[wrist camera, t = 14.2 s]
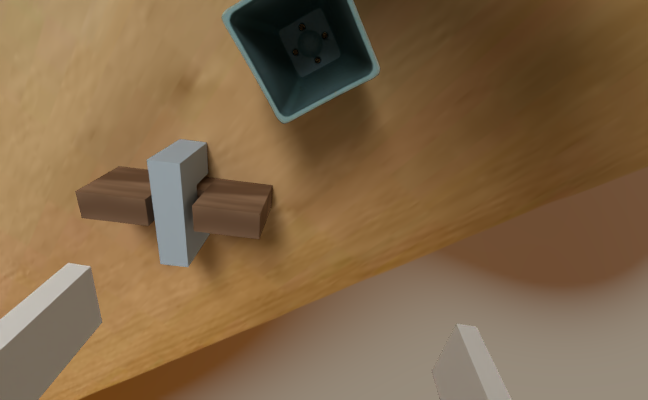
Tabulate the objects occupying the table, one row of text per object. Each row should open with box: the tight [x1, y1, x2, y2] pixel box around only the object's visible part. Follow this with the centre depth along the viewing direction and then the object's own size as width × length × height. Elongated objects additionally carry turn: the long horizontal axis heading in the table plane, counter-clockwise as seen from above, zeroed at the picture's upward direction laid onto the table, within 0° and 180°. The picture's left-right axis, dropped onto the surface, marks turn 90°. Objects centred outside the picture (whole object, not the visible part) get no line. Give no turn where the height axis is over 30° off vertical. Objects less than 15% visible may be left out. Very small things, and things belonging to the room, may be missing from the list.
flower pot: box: [222, 0, 380, 123], centre depth 27 cm, size 9×9×9 cm
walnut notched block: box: [75, 166, 272, 239], centre depth 35 cm, size 3×18×7 cm, turn 83°
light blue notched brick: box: [147, 139, 210, 267], centre depth 35 cm, size 12×3×7 cm, turn 173°
